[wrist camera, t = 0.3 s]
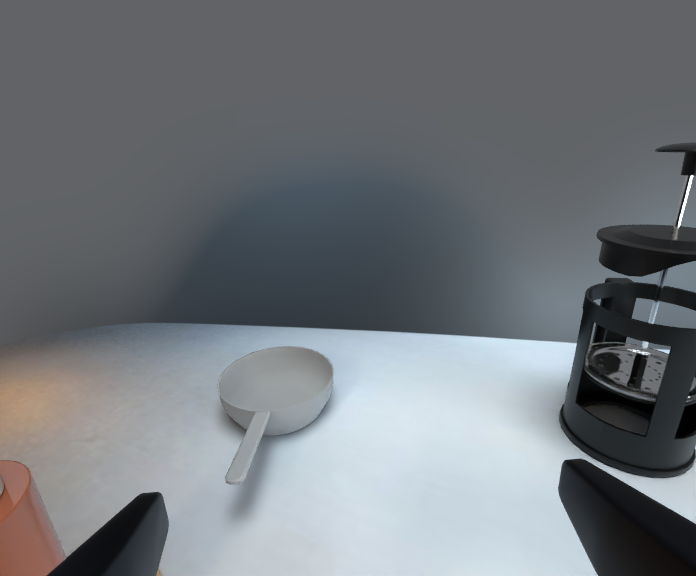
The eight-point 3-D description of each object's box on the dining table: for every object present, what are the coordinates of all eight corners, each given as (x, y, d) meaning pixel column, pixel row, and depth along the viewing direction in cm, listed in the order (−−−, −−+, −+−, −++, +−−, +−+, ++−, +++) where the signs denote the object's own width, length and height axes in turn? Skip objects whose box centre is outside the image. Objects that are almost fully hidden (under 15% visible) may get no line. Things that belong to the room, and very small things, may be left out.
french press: (732, 493, 27) (879, 140, 19) (584, 477, 29) (661, 147, 21) (645, 392, 38) (715, 139, 30) (541, 384, 40) (580, 144, 31)
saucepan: (339, 373, 43) (337, 342, 41) (319, 525, 26) (315, 481, 25) (243, 373, 43) (238, 343, 42) (163, 522, 27) (151, 479, 25)
